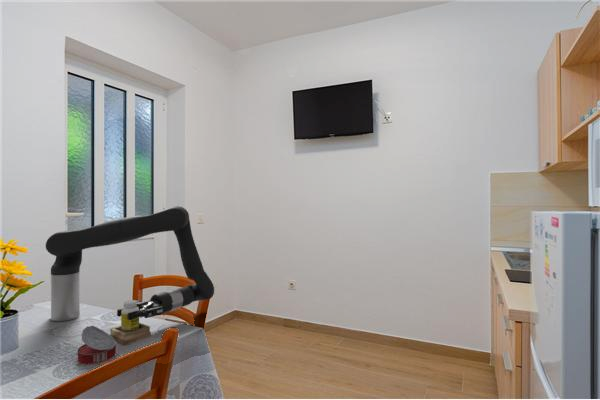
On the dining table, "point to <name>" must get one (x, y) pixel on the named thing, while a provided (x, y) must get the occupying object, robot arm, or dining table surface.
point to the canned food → (96, 346)
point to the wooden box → (130, 334)
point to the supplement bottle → (125, 323)
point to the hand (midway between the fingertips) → (123, 315)
